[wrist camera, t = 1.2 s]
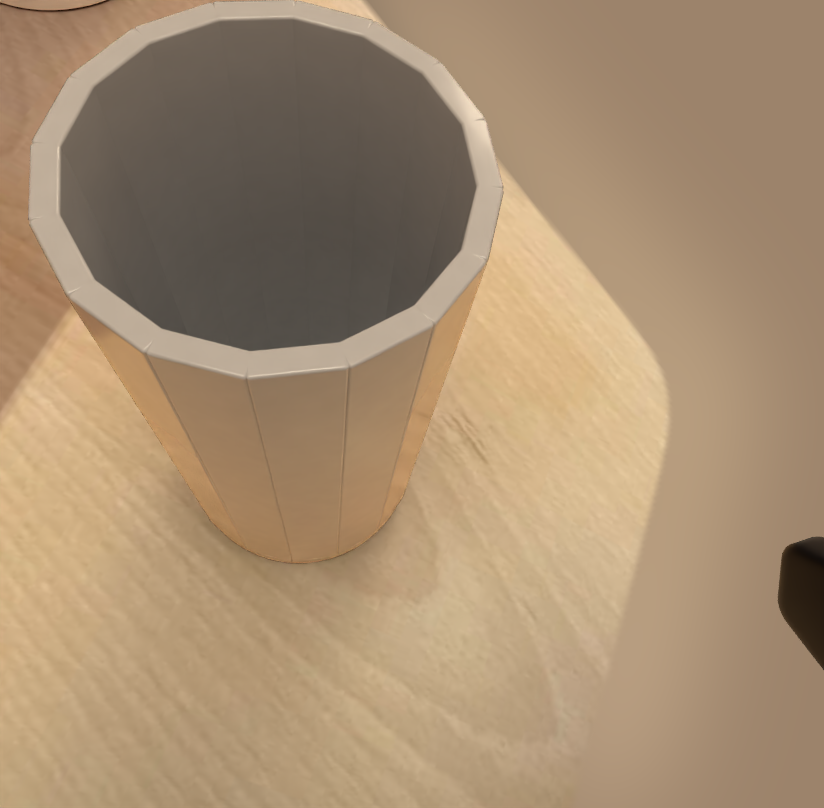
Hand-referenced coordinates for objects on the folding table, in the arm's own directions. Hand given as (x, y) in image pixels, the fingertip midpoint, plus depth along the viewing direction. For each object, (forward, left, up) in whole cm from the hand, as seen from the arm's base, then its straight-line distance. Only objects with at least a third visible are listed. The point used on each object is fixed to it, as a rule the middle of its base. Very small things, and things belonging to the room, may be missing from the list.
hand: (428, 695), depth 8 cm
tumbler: (+7, -2, -13) cm, 15 cm away
